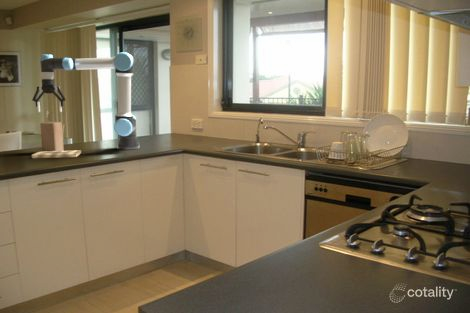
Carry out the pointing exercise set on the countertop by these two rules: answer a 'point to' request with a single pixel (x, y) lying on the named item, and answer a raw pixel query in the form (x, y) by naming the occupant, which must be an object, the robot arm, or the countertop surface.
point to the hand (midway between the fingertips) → (50, 111)
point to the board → (56, 154)
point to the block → (52, 136)
